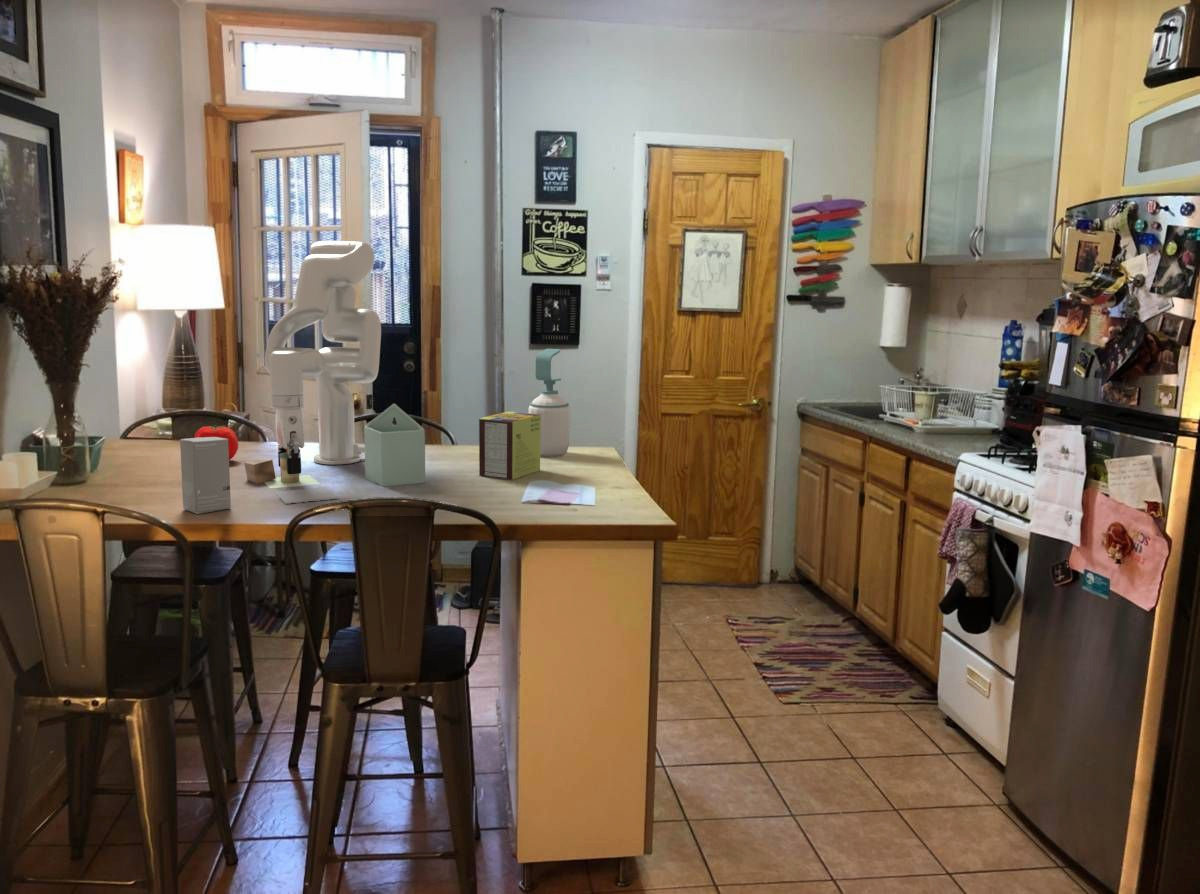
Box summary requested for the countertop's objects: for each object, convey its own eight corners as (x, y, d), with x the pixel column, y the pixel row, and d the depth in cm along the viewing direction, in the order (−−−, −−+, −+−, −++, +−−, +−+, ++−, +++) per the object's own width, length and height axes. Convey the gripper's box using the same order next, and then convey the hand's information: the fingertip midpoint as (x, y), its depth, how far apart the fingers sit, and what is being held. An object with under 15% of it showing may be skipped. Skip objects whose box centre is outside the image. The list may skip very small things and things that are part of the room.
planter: (351, 484, 235) (349, 405, 232) (366, 477, 243) (364, 401, 239) (413, 488, 232) (412, 409, 228) (425, 482, 240) (425, 405, 236)
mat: (308, 476, 243) (308, 474, 243) (320, 485, 233) (320, 483, 233) (260, 480, 237) (260, 478, 237) (270, 490, 227) (270, 488, 227)
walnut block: (266, 476, 238) (263, 457, 237) (275, 479, 235) (272, 459, 234) (247, 481, 235) (244, 462, 234) (256, 484, 232) (253, 464, 230)
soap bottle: (577, 453, 283) (579, 349, 277) (553, 460, 272) (555, 351, 267) (543, 449, 289) (545, 347, 283) (519, 454, 279) (520, 349, 273)
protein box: (540, 470, 258) (541, 414, 255) (512, 480, 244) (512, 421, 241) (507, 466, 262) (508, 410, 259) (477, 476, 248) (478, 417, 246)
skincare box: (196, 515, 202) (192, 442, 199) (181, 509, 207) (176, 438, 204) (233, 508, 208) (230, 438, 206) (218, 503, 213) (214, 433, 210)
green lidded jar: (297, 478, 238) (296, 451, 237) (301, 482, 234) (300, 454, 233) (278, 480, 236) (277, 452, 234) (282, 483, 232) (281, 456, 230)
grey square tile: (325, 488, 229) (324, 487, 229) (338, 499, 219) (338, 497, 219) (273, 493, 223) (273, 491, 223) (285, 504, 213) (285, 502, 213)
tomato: (183, 463, 254) (181, 426, 253) (215, 456, 265) (213, 420, 263) (217, 468, 250) (215, 429, 248) (248, 460, 261) (247, 424, 259)
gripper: (311, 405, 226) (313, 475, 229) (294, 396, 240) (297, 462, 243) (279, 406, 222) (281, 478, 225) (264, 397, 237) (266, 465, 240)
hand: (289, 470), depth 234 cm, fingers open, 9 cm apart
